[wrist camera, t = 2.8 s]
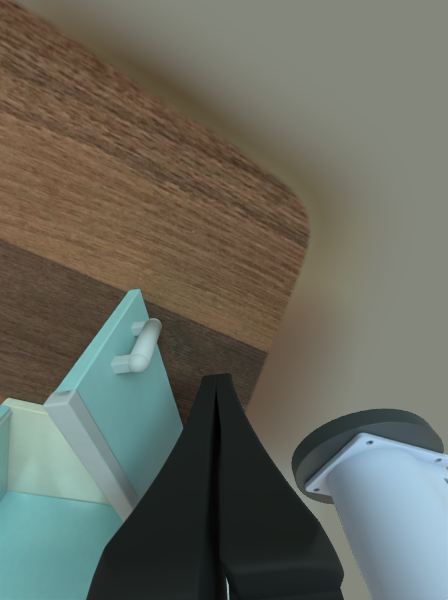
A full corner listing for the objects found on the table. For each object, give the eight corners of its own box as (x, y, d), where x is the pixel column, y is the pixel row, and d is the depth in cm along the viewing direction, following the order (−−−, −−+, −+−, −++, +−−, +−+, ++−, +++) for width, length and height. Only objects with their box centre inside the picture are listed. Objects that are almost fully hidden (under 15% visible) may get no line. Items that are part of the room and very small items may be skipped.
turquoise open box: (188, 428, 19) (174, 570, 12) (145, 505, 24) (119, 633, 17) (6, 387, 16) (-146, 541, 9) (3, 484, 21) (-94, 628, 14)
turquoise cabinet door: (200, 427, 18) (194, 563, 12) (175, 429, 18) (155, 567, 12) (164, 285, 13) (113, 397, 6) (128, 290, 13) (40, 406, 6)
